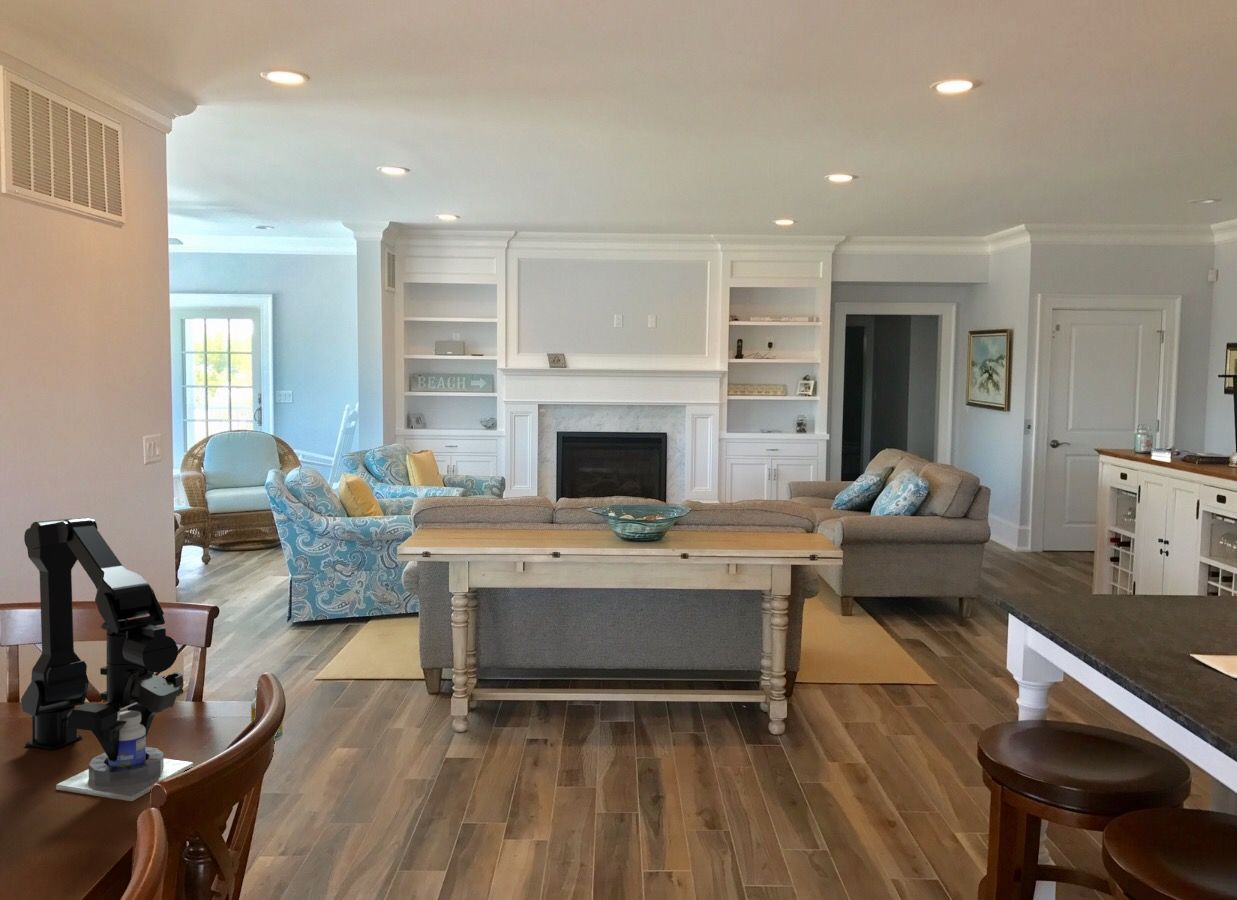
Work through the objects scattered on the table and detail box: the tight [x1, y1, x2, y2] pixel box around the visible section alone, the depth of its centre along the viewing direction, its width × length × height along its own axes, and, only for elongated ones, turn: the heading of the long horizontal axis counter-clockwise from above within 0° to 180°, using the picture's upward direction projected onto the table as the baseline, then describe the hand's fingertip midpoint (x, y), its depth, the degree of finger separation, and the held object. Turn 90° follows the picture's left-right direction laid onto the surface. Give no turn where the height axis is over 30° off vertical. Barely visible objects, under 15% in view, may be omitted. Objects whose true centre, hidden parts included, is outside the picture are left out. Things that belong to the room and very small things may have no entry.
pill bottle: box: [108, 710, 147, 767], centre depth 156 cm, size 5×5×10 cm
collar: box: [55, 746, 194, 802], centre depth 156 cm, size 14×14×3 cm
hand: (126, 754), depth 156 cm, fingers closed on pill bottle, 5 cm apart
